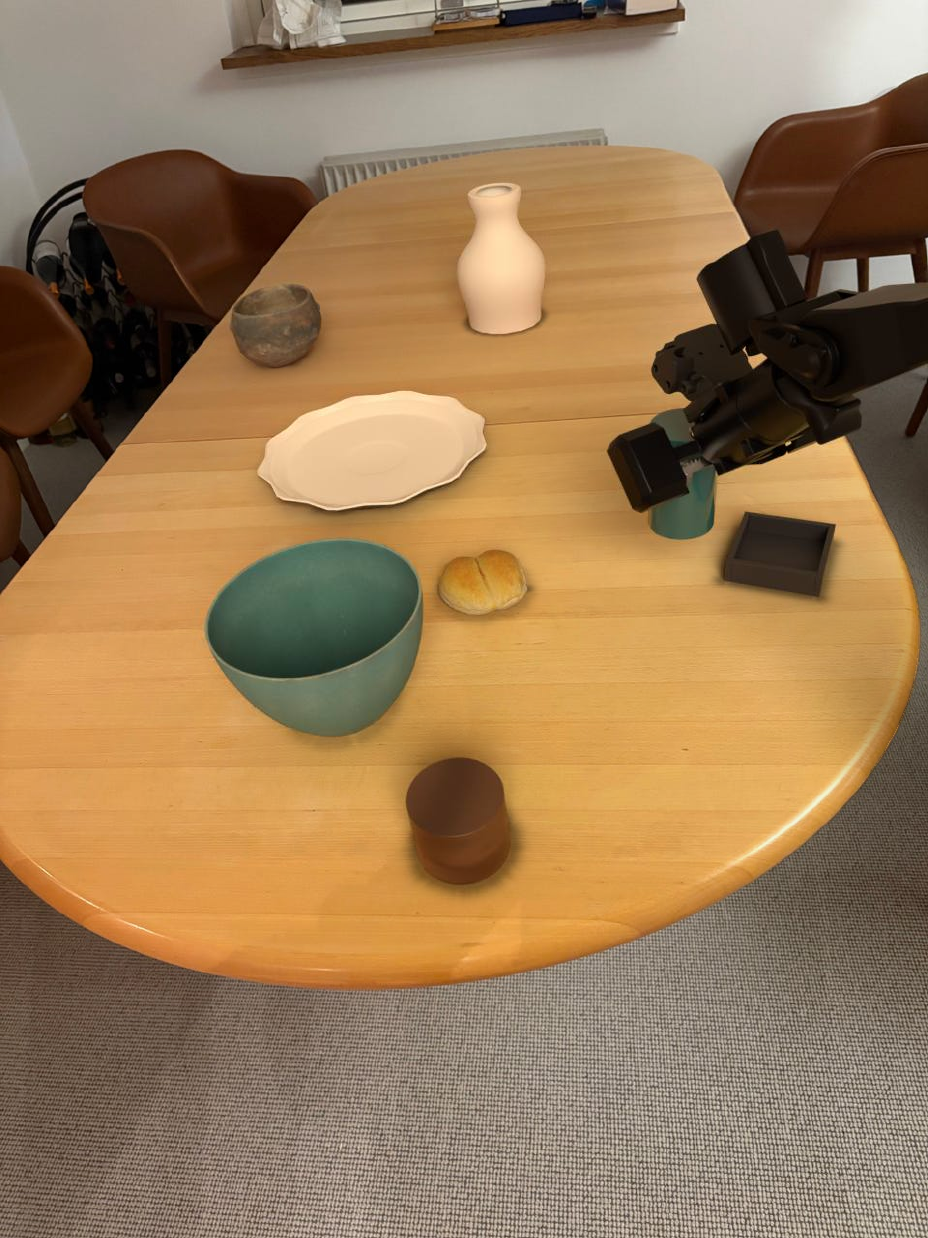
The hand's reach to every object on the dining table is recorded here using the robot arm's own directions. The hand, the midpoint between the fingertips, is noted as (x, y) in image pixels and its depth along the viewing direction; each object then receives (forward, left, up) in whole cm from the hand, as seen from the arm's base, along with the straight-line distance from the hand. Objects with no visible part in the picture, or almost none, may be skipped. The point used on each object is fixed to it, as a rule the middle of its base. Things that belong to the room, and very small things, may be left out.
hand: (673, 472), depth 80 cm
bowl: (+74, -40, -14) cm, 85 cm away
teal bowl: (+24, +25, -14) cm, 37 cm away
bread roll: (+18, +6, -14) cm, 23 cm away
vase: (+44, -61, -14) cm, 76 cm away
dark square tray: (-9, -7, -13) cm, 18 cm away
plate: (+43, -15, -14) cm, 47 cm away
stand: (+7, +35, -13) cm, 38 cm away
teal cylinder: (-1, +1, -5) cm, 5 cm away
